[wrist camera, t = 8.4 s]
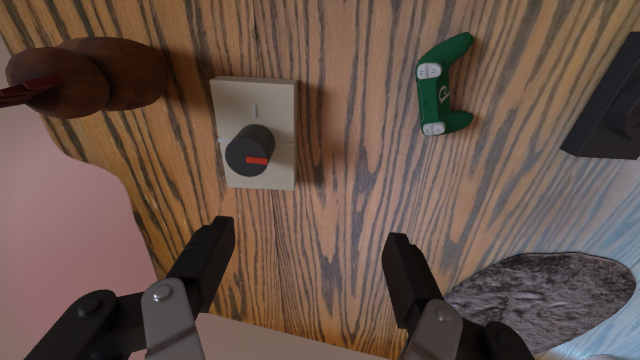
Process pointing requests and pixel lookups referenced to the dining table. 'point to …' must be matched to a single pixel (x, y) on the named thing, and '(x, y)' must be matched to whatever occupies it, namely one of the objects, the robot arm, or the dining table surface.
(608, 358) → the cup
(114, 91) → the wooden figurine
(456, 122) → the gaming controller
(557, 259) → the worn metal disc
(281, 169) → the stove console
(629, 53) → the black switch housing
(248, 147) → the dial
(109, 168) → the dining table surface
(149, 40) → the dining table surface
